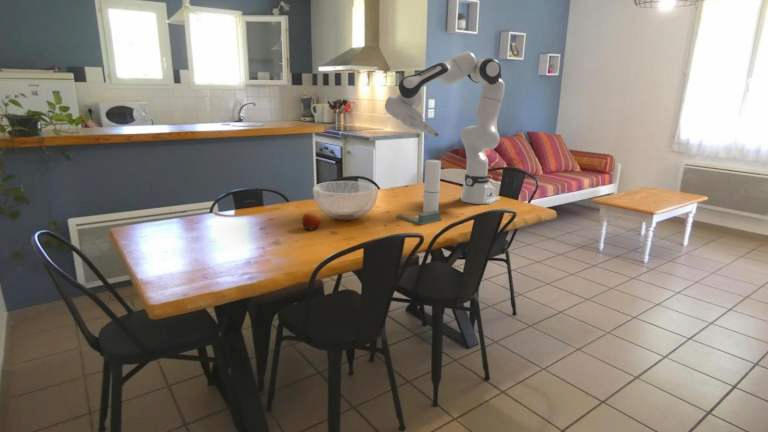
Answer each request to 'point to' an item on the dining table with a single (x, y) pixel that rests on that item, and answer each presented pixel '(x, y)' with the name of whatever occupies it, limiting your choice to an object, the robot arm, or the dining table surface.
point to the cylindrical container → (431, 185)
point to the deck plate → (420, 217)
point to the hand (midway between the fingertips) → (436, 134)
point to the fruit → (311, 221)
